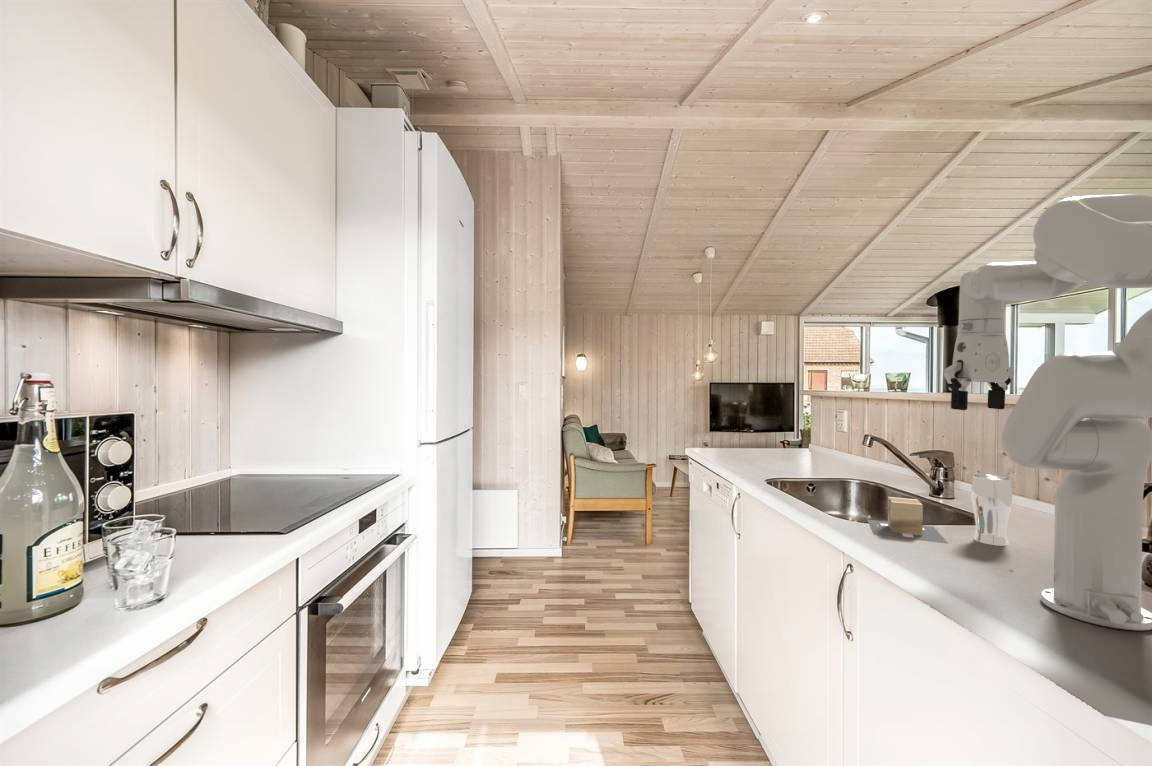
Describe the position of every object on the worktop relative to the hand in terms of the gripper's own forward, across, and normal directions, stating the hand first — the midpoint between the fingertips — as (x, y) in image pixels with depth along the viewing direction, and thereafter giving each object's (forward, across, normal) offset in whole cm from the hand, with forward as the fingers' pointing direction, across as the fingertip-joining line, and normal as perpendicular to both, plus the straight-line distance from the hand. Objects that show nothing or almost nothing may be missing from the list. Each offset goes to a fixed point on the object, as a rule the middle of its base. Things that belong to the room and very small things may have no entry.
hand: (977, 409), depth 109 cm
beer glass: (+30, +6, 0) cm, 31 cm away
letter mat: (+30, -7, +11) cm, 33 cm away
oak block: (+30, -7, +11) cm, 32 cm away
